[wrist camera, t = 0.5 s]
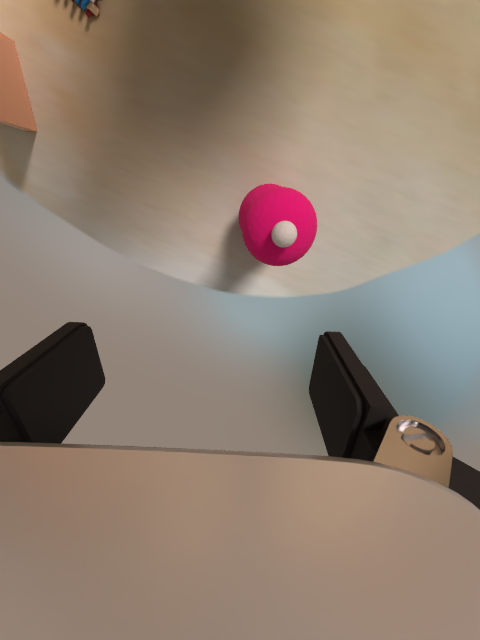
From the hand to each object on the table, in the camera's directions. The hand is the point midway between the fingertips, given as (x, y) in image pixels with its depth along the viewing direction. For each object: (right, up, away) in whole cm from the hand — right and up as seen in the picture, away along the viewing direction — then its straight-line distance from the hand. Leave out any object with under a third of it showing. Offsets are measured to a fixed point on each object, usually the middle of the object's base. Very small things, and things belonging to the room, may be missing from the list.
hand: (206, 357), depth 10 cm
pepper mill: (+5, +16, +24) cm, 30 cm away
